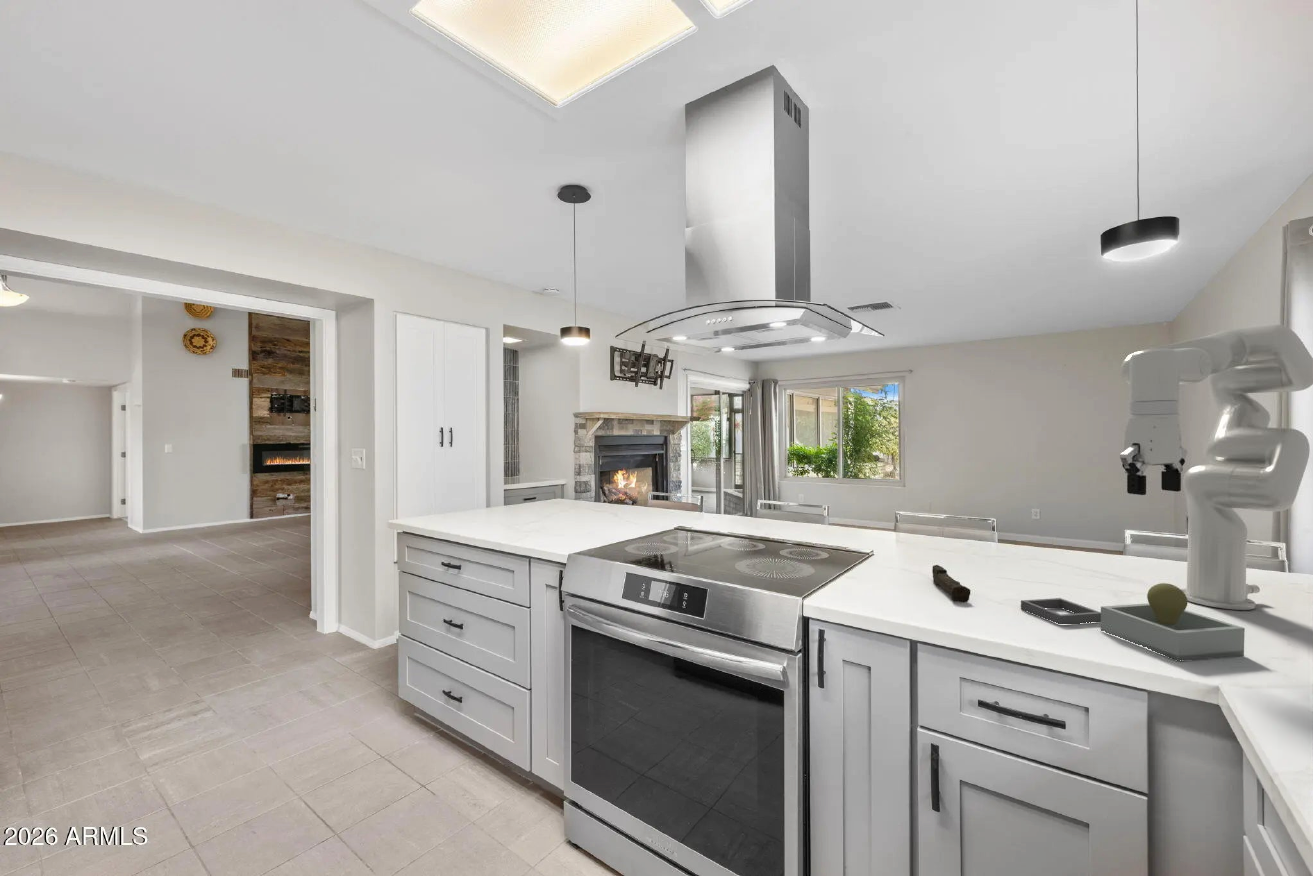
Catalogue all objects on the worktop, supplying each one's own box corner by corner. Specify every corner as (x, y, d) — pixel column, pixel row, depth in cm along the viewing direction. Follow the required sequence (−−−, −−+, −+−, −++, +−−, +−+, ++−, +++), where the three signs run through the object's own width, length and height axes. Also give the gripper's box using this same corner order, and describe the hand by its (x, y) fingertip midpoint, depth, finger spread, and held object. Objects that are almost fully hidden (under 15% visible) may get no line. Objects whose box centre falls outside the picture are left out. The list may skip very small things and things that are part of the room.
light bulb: (1185, 635, 104) (1186, 583, 104) (1187, 644, 100) (1188, 590, 100) (1146, 628, 108) (1147, 577, 107) (1146, 636, 103) (1147, 584, 103)
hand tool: (970, 604, 126) (971, 584, 126) (951, 602, 127) (952, 583, 127) (945, 581, 145) (945, 563, 145) (929, 580, 146) (929, 562, 146)
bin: (1159, 627, 111) (1160, 602, 111) (1243, 655, 97) (1244, 628, 97) (1100, 631, 109) (1100, 606, 109) (1177, 661, 95) (1178, 633, 95)
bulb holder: (1060, 606, 123) (1060, 597, 123) (1102, 622, 114) (1102, 613, 114) (1020, 609, 122) (1020, 600, 122) (1060, 625, 112) (1060, 616, 112)
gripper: (1163, 408, 119) (1163, 487, 120) (1103, 411, 114) (1103, 493, 115) (1206, 408, 112) (1205, 491, 112) (1143, 411, 107) (1143, 498, 108)
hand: (1153, 492), depth 114 cm, fingers open, 9 cm apart
